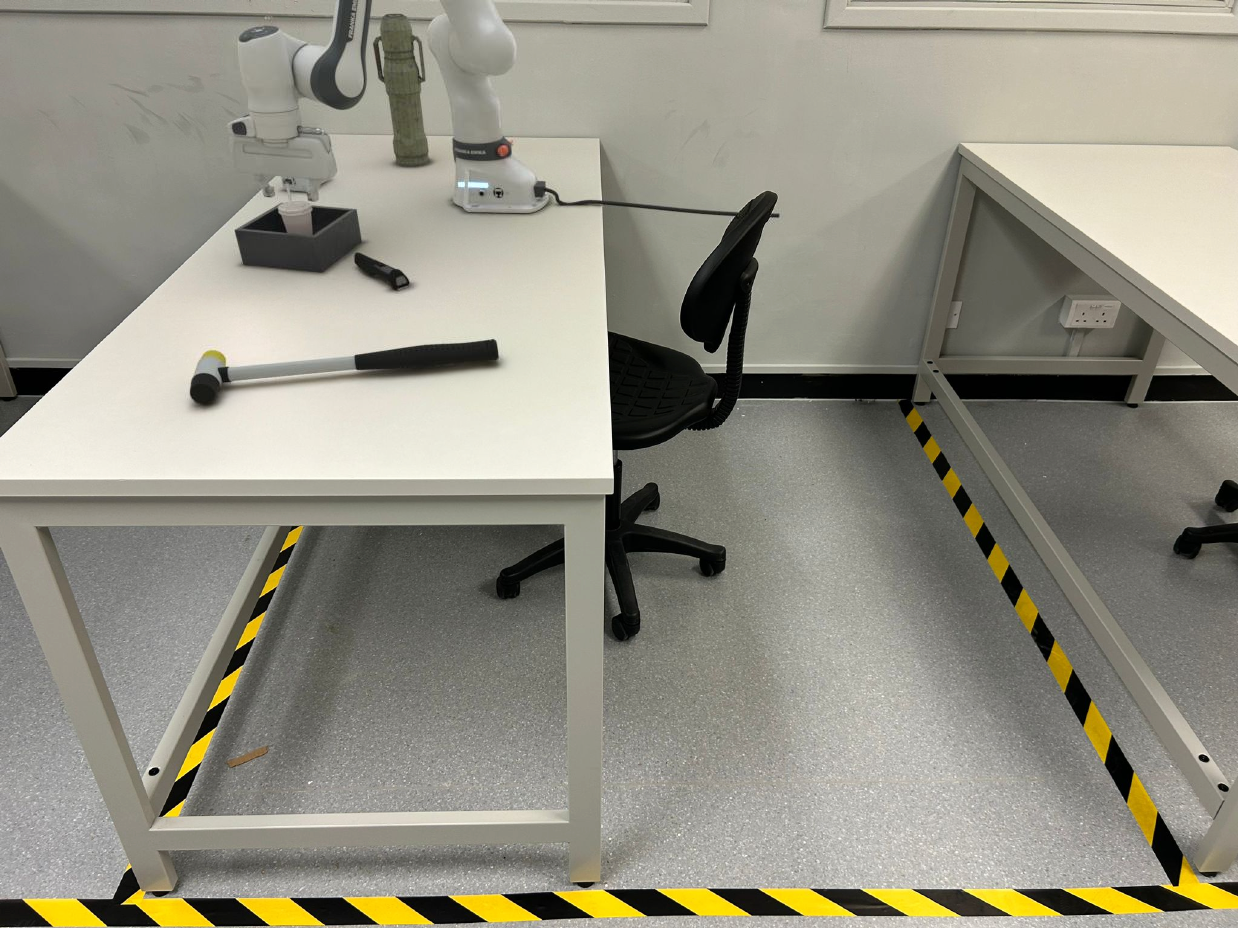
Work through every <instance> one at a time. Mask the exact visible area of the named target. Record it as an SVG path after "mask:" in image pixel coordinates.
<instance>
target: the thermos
mask: <svg viewBox="0 0 1238 928" xmlns="http://www.w3.org/2000/svg"><path fill="white" fill-rule="evenodd" d="M379 31H380V32H379V33H380V36H376V37H375V39H374V41H373V42H372V46H373V52H374V58H375V65H376V70H377V79H378V80H379V81H380V82H381V83H383V84H384V87H385V92H386V95H387V97H388V102H389V109H390V117H391V125H392V132H393V137H392V138H393V139H392V148H393V154H394V156H395V164H396V165H398V166H399V167H402V168H416V167H417V168H418V167H422V166H426V165H428V164H429V163H430V157H429V151H430V149H429V143H428V137H427V134H426V132H425V126H424V116H423V109H422V99H421V93H422V83H424V82H426V69H425V68H426V67H425V60H424V50H423V49H424V48H423V41H422V40H421V39H420V37H419V36H418V35H414V34H413V28H412V25H411V23H410V21H409V18H408V16H407V15H404V14H403V13H386V14H384V16H381V20H380V27H379ZM415 41H416V43H417V45H418V55H419V62H420V68H419V66H418V63H417V60H416V55H415V52H414V51H415V45H414V42H415ZM379 42H381V48H382V52H383V55H384V56H383V66H382V60H381V59H382V58H381V53H380V52H381V51H380V44H379ZM420 70H421V71H420ZM420 72H421V73H420Z"/></svg>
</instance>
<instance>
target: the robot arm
mask: <svg viewBox="0 0 1238 928" xmlns="http://www.w3.org/2000/svg"><path fill="white" fill-rule="evenodd" d="M439 2H440V4H441V5H442V7H443V9H444V11H445V13H443V14H439V15H437V16H435V17H434V18H433V19H432V20H431V22H430V23H429V25H428V27H427V32H426V42H427V46H428V48H429V50H430V53H431V54H432V55H433V57H434V58H435V60H436V62H437V64H438V67H439V70H440V73H441V76H442V80H443V83H444V86H445V89H446V92H447V97H448V100H449V106H450V115H451V122H452V132H453V137H452V139H451V143H452V155H453V161H454V164H455V179H454V180H455V181H454V192H453V196H452V202H453V203H454V204H455V205H457V206H459V207H461V208H463V210H464V211H465V212H467V213H500V214H501V213H502V214H505V213H506V214H532V213H535V212H537V211H540V210H541V209H543V208H544V207H545V206H546V205H547V204H548V202H549V200H550V196H549V194H551V195H553V196H554V199H555V203H557V204H558V205H559V206H582V205H604V206H615V207H626V208H637V209H644V210H645V209H646V210H656V211H664V212H665V211H666V212H673V213H674V212H675V213H683V214H684V213H685V214H686V213H687V214H695V215H697V214H698V215H708V216H709V215H710V216H725V217H738V216H737V215H738V214H739V213H740V212H741V211H726V210H725V211H724V210H709V209H697V208H684V207H676V206H675V207H674V206H666V205H665V206H664V205H655V204H644V203H636V202H635V203H634V202H623V201H614V200H604V199H603V200H602V199H601V200H600V199H583V200H577V201H574V202H565V201H563V200H560V195H559V193H558V192H557V191H556V190H554V189H552V188H548V187H547V186H546V182H547V181H546V180H538V178H537V174H536V172H535V171H534V170H533V169H531V168H530V167H529V166H528V165H526V164H525V163H524V162H522V161H521V160H520V159H518V157H516V156H515V155H514V154H513V150H512V149H513V148H512V147H513V146H514V143H513V142H514V139H511V140H510V141H509V140H508V139H507V138H506V137H505V136H504V135H503V119H502V117H503V116H502V104H501V100H500V97H499V96H498V94H497V93H496V91H495V89H494V86H493V85H492V82H491V79H490V77H498V76H502V75H505V74H507V73H508V72H509V71H511V69H512V68H513V66H514V65H515V63H516V60H517V56H518V45H517V40H516V38H515V36H514V34H513V33H512V32H511V30H510V29H508V27H507V26H506V24H505V23H504V21H503V19H502V17H501V15H500V13H499V11H498V8H497V6H496V4H495V2H494V0H439ZM372 5H373V0H335V1H334V11H333V18H332V26H331V35H330V39H329V42H328V43H327V45H326V46H323V45H319V44H316V43H312V42H308V41H304V40H301V39H299V38H297V37H294V36H291V35H290V34H288V33H285V32H284V31H282V29H280V28H279V27H278V26H275V25H262V26H253V27H251V28H248V29H246V30H244V31H242V33H241V34H240V35H239V36H238V39H237V57H238V59H237V60H238V65H239V70H240V77H241V81H242V85H243V87H244V89H245V91H246V94H247V110H248V114H246V115H244V116H242V117H239V118H237V119H235V120H232V121H230V122H228V123H227V125H226V128H227V132H228V134H229V135H230V137H229V142H228V143H229V151H230V157H231V162H232V165H233V168H234V169H235V170H236V171H237V172H238V173H240V174H251V175H253V180H254V181H255V182H256V183H257V184H258V186H259V187H260V189H261V190H262V195H263V197H264V198H273V197H276V191H275V186H272V185H270V183H269V182H268V180H267V179H266V178H267V177H268V176H271V177H272V176H273V177H281V176H283V177H294V178H305V179H309V183H310V184H313V185H312V188H311V190H310V191H308V192H306V198H307V202H314V203H316V202H318V201H319V200H320V196H319V190H320V188H321V185H322V184H321V182H322V181H321V180H327V181H329V180H331V179H334V177H336V175H337V174H338V166H337V161H336V158H335V154H334V151H333V148H332V147H333V146H332V140H331V136H330V135H329V133H327V132H326V131H325V130H323V129H322V128H320V127H309V126H304V125H303V123H302V122H303V121H302V116H301V111H300V105H299V101H300V99H304V98H305V99H307V100H309V101H314V102H317V103H321V104H323V105H325V106H327V107H330V108H332V109H335V110H338V111H346V110H350V109H352V108H354V107H355V106H356V105H358V104H359V103H360V102H361V100H362V99H363V97H364V95H365V93H366V89H367V83H368V74H367V61H366V59H367V56H366V53H367V44H368V37H369V29H370V22H371V21H370V20H371V12H372ZM770 213H771V212H770ZM780 215H781V214H780V213H778V212H777V213H775V212H772V213H771V216H769V217H768V218H771V219H773V218H775V219H776V218H778V219H779V218H780Z"/></svg>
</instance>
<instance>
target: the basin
mask: <svg viewBox="0 0 1238 928" xmlns="http://www.w3.org/2000/svg"><path fill="white" fill-rule="evenodd" d="M283 203H284V202H280V203H278V204H276V205H274V206H273V207H271V208H270V209H268V210H266V211H264V212H262V213H261V214H260V215H258V216H256V217H254V218H253V219H251V220H249V221H247V222H246V223H244V224H241V226H239V227H237V228H235V229H234V234H235V238H236V242H237V246H238V250H239V254H240V259H241V262H242V265H244V266H245V265H246V266H253V267H263V268H273V269H284V270H292V271H293V270H294V271H301V272H302V271H303V272H312V273H321V274H322V273H324V272H325V271H326V270H327V269H329V268H330V267H332V266H333V265H334V264H335V263H338V261H340V259H342V258H343V257H345V256H346V255H347V254H348V253H350V252H351V251H352V250H354V249H355V248H356V247H358V246H359V245H360V244H362V243H363V239H362V234H361V226H360V221H359V216H358V209H356V208H348V207H336V206H335V207H334V206H325V205H315V204H314V205H312V204H311V207H312V211H311V219H312V234H313V235H303V234H292V233H287V230H286V227H285V225H284V222H283V219H282V216H281V214H279V212H278V206H279V205H281V204H283Z"/></svg>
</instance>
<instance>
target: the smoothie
mask: <svg viewBox="0 0 1238 928" xmlns="http://www.w3.org/2000/svg"><path fill="white" fill-rule="evenodd" d="M286 189H287V190H286V193H287V198H288V201H286V202H282V203H283V204H281V205H279V206H278V212H279V214H281V216H282V219H283V222H284V225H285V227H286V230H287V233H292V234H303V235H313V234H312V219H311V211H312V207H311V205H312V203H311V202H310V201H305V200H293V199H292V194H291V190H290V189H289V184H288V183H286Z"/></svg>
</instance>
